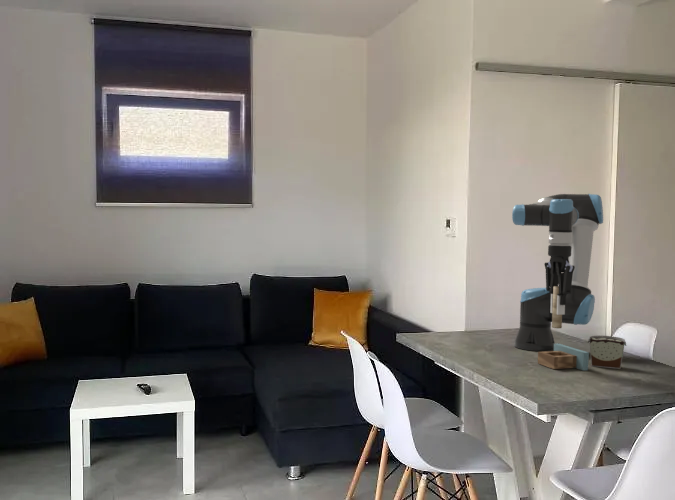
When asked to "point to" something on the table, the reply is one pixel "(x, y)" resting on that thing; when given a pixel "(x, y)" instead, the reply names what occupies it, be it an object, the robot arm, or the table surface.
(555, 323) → the dowel
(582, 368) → the wall
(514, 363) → the table surface
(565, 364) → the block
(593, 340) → the food container
